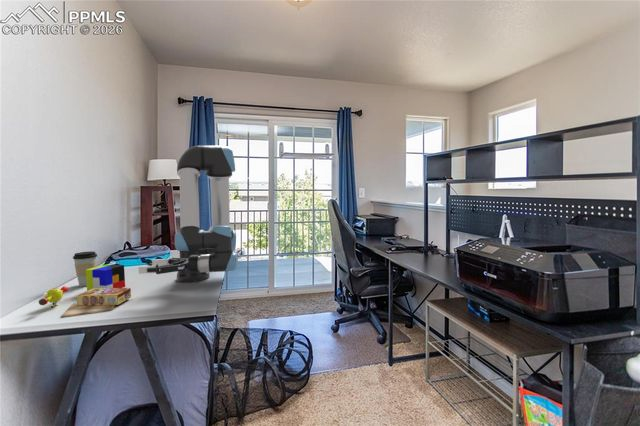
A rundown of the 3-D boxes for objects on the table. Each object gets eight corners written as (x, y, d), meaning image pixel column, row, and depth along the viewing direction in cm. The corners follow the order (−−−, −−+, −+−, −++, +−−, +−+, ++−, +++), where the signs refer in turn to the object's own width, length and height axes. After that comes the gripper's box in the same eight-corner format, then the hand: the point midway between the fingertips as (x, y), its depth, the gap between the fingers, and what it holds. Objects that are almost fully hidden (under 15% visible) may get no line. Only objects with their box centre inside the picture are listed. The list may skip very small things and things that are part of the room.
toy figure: (57, 299, 130) (56, 283, 130) (73, 298, 132) (72, 281, 132) (31, 315, 113) (30, 296, 113) (50, 313, 115) (49, 295, 114)
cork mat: (118, 299, 129) (118, 298, 129) (112, 310, 117) (112, 308, 117) (72, 305, 123) (72, 304, 123) (61, 317, 111) (61, 315, 111)
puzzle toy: (106, 293, 138) (105, 270, 137) (87, 292, 140) (85, 269, 139) (125, 286, 148) (124, 265, 147) (106, 285, 150) (105, 264, 149)
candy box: (117, 293, 120) (75, 295, 120) (118, 305, 121) (76, 307, 120) (130, 286, 129) (91, 288, 129) (131, 297, 130) (92, 299, 129)
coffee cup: (73, 284, 153) (71, 253, 152) (97, 280, 159) (95, 250, 158) (75, 288, 146) (73, 255, 145) (100, 284, 152) (98, 252, 151)
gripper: (192, 280, 124) (133, 283, 121) (206, 266, 149) (157, 268, 146) (191, 260, 124) (132, 263, 121) (205, 249, 148) (156, 251, 146)
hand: (145, 266), depth 134 cm, fingers open, 13 cm apart
